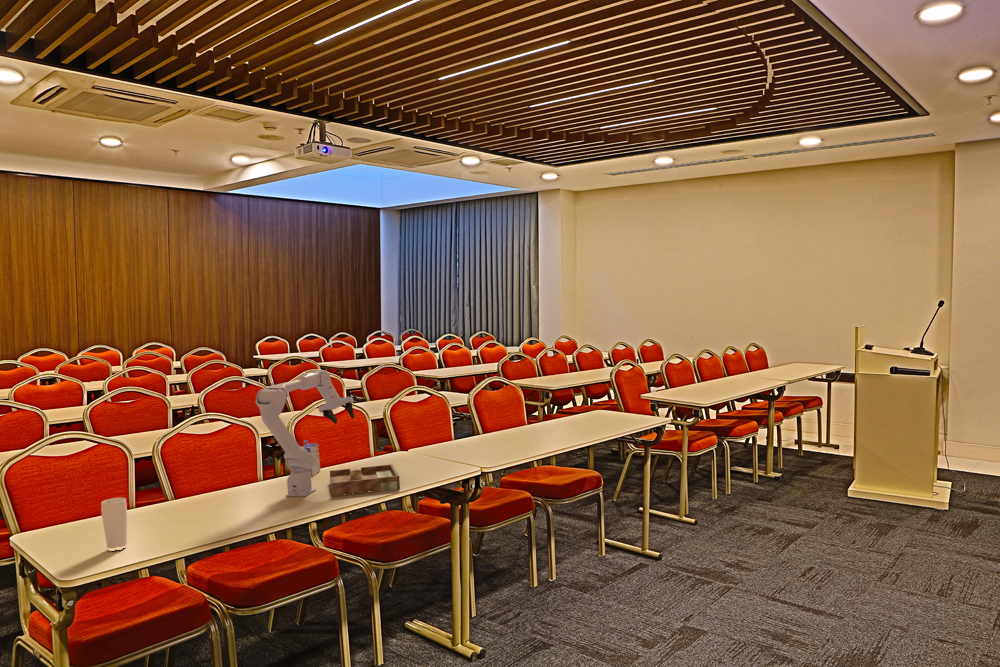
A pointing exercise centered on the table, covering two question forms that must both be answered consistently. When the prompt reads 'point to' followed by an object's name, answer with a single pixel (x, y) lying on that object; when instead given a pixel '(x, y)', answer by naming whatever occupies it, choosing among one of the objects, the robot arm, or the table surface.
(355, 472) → the block
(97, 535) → the table surface
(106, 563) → the table surface
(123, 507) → the drinking glass
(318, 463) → the ink cartridge box
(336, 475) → the box
